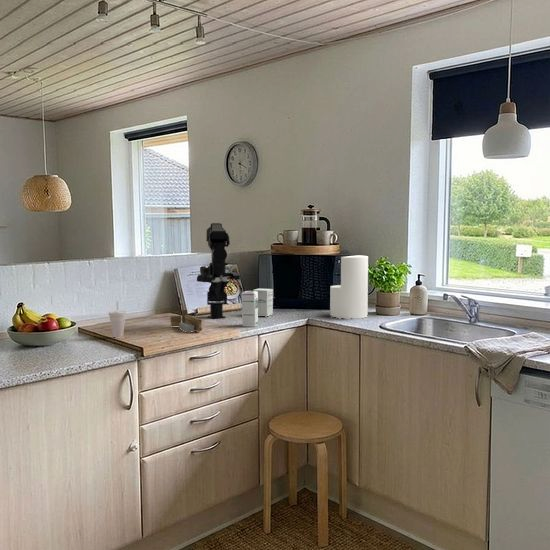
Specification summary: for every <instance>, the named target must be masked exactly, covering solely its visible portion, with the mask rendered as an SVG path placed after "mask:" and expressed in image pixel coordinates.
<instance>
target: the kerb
mask: <svg viewBox="0 0 550 550" xmlns="http://www.w3.org/2000/svg"><path fill="white" fill-rule="evenodd" d="M179 328H181V329H182V330H184V331H186V332H191V331H194V332H195V330H194V325H192V324H190V323H187V322H182V321H181V323H179ZM179 328H178V329H179ZM184 331H183V332H184ZM186 332H185V333H186Z"/></svg>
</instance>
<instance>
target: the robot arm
mask: <svg viewBox="0 0 550 550" xmlns="http://www.w3.org/2000/svg"><path fill="white" fill-rule="evenodd" d="M205 236H206V237H205V238H206V242H207V246H208V248H209V249H210V251H211V262H210V263H209V266H207V267H206V266H205V265H203V266H200V267H199V272H200V274H198V275H197V277H196V282H199V283H209V284H210V285H209V287H208V291H206V303H207V304H206V305H207V306H209V312H210V315H207V318H211V319H213V320H215V319H224V318H226V316H225V315H224V314H223V313H224V311H223V310H224V308H223V305H224V306H225V305H228V294H227V292H226V291H225V289H226V287H227V285H228V284H229V283H230V280H231V279H232V280H234V281H237V280H241V277H240V276H241V275H240V273H239V272H227V271H226V270H227V269H226V266H229V265H228V262H226V259H227V257H228V253H227V250H226V249H225V248H227V247H229V246H230V235H229V233H228V232H227V230H226V229H225V228H223V224H222V223H221V222H212V223H210V226H209V227H208V228H207V229H206V235H205Z"/></svg>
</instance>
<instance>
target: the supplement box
mask: <svg viewBox="0 0 550 550" xmlns="http://www.w3.org/2000/svg"><path fill="white" fill-rule="evenodd" d="M252 291H258V316H265V317H264V318H268V317H267V316H269V315H272V314H273V313H274V310H273V308H274V306H273V305H274V289H273V288H256V289H253V290H252ZM272 316H273V315H272ZM269 317H270V316H269Z"/></svg>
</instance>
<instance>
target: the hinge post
mask: <svg viewBox="0 0 550 550" xmlns="http://www.w3.org/2000/svg"><path fill="white" fill-rule="evenodd" d="M181 313H182V314H181V315H180V314H179V315H170V327H171V326H179V323H181V322H185V315H188V309H182V310H181Z"/></svg>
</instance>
